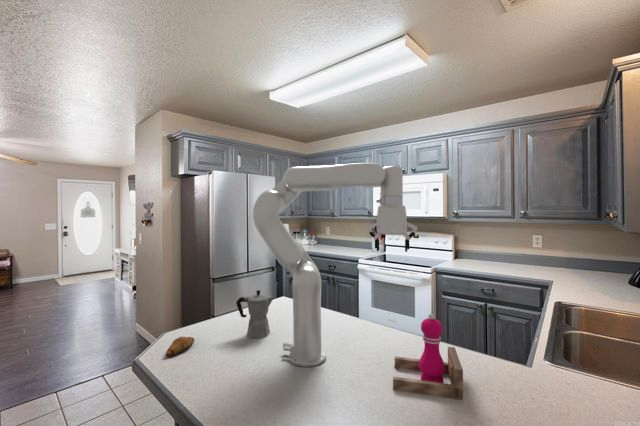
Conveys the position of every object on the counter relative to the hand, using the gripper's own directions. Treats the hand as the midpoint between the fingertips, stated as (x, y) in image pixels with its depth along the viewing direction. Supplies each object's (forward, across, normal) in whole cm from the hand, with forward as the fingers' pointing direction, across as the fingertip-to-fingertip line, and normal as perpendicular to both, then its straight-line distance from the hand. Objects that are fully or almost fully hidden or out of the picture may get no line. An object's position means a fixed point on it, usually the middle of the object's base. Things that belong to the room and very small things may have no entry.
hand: (391, 250), depth 106 cm
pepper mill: (+36, +12, -14) cm, 41 cm away
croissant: (+37, -75, -16) cm, 85 cm away
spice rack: (+36, +10, -14) cm, 40 cm away
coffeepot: (+36, -55, +4) cm, 66 cm away
